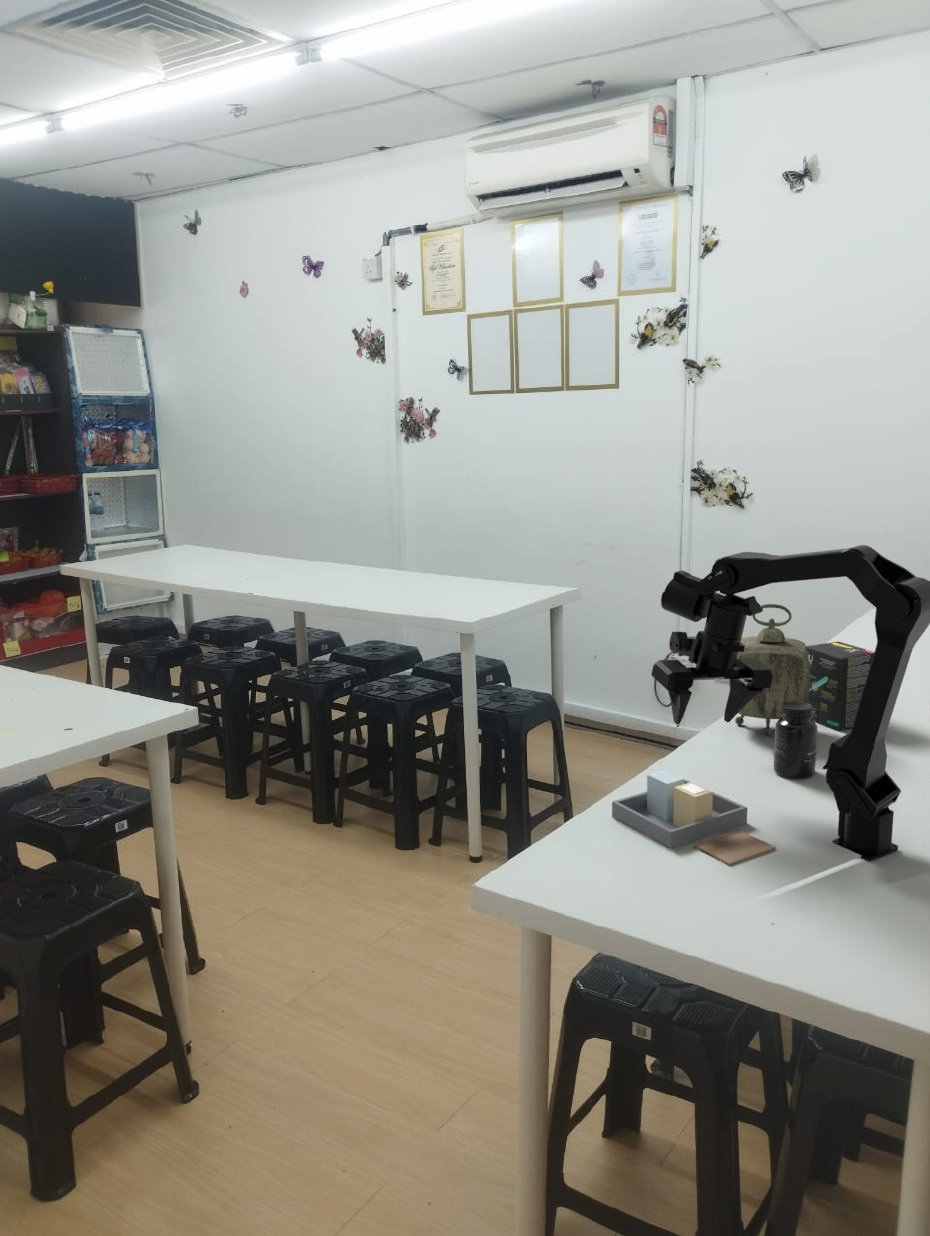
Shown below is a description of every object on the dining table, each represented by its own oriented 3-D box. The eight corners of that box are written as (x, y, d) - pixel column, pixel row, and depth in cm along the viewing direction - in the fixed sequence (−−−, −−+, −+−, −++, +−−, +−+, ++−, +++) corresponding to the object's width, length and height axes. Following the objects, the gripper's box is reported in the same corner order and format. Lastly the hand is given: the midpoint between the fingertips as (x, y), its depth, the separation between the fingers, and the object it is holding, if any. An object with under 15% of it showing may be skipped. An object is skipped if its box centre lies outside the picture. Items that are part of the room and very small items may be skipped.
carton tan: (711, 829, 145) (712, 790, 143) (694, 835, 143) (695, 796, 142) (690, 818, 148) (691, 781, 147) (673, 824, 147) (673, 786, 145)
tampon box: (875, 724, 189) (880, 651, 185) (837, 731, 185) (841, 657, 182) (835, 709, 198) (838, 639, 195) (798, 715, 195) (801, 645, 192)
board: (775, 852, 138) (775, 847, 138) (729, 869, 133) (729, 863, 133) (738, 834, 144) (738, 829, 144) (693, 849, 139) (693, 844, 139)
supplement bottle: (818, 781, 162) (821, 712, 160) (775, 779, 164) (778, 711, 161) (812, 765, 169) (815, 700, 166) (771, 764, 170) (774, 698, 168)
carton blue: (683, 815, 150) (684, 778, 148) (666, 820, 148) (667, 783, 147) (663, 805, 154) (664, 769, 152) (646, 810, 152) (647, 774, 150)
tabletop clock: (806, 726, 189) (812, 601, 183) (807, 742, 180) (814, 611, 175) (729, 721, 193) (733, 598, 187) (727, 736, 185) (731, 608, 179)
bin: (746, 825, 146) (747, 807, 146) (670, 851, 139) (670, 832, 138) (685, 797, 158) (686, 779, 157) (612, 819, 150) (612, 801, 150)
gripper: (745, 612, 159) (724, 697, 164) (644, 612, 153) (626, 701, 158) (785, 639, 149) (762, 729, 155) (679, 641, 143) (659, 734, 149)
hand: (701, 722), depth 154 cm, fingers open, 9 cm apart
